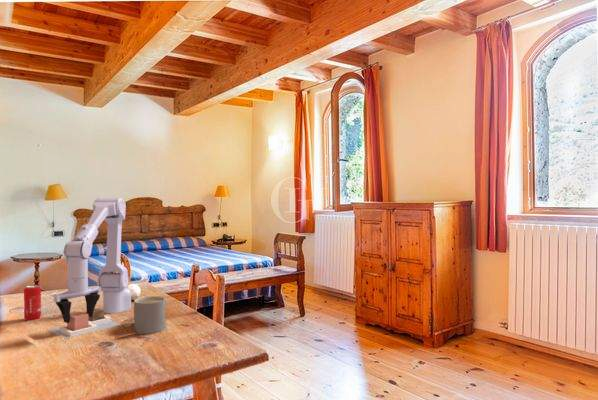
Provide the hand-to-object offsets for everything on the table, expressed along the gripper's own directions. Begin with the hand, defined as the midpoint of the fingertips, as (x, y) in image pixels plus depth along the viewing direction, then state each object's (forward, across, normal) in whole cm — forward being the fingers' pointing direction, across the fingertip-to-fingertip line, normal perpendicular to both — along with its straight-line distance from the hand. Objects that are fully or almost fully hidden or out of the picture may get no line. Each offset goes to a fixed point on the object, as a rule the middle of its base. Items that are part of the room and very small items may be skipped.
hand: (78, 319), depth 136 cm
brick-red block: (+4, 0, 0) cm, 4 cm away
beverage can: (+5, 0, -30) cm, 30 cm away
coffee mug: (+5, -15, +15) cm, 22 cm away
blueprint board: (+5, -3, -2) cm, 6 cm away
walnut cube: (+4, -8, -4) cm, 10 cm away
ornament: (+5, -37, -23) cm, 44 cm away
